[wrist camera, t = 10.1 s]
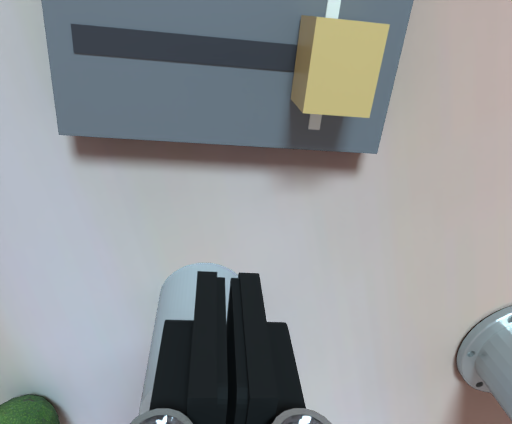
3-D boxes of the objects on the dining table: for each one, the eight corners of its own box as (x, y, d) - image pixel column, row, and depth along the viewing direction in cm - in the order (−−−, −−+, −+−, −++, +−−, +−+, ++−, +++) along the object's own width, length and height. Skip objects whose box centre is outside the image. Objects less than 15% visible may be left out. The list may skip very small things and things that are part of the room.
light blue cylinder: (166, 335, 39) (149, 458, 29) (153, 267, 36) (128, 379, 25) (249, 327, 40) (263, 445, 29) (245, 259, 36) (259, 365, 25)
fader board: (401, -34, 27) (423, -39, 24) (363, 141, 32) (377, 154, 29) (50, -78, 24) (29, -89, 21) (72, 123, 29) (58, 135, 26)
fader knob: (364, 21, 25) (389, 24, 21) (348, 103, 27) (369, 118, 24) (301, 15, 24) (316, 16, 21) (290, 98, 27) (302, 113, 23)
